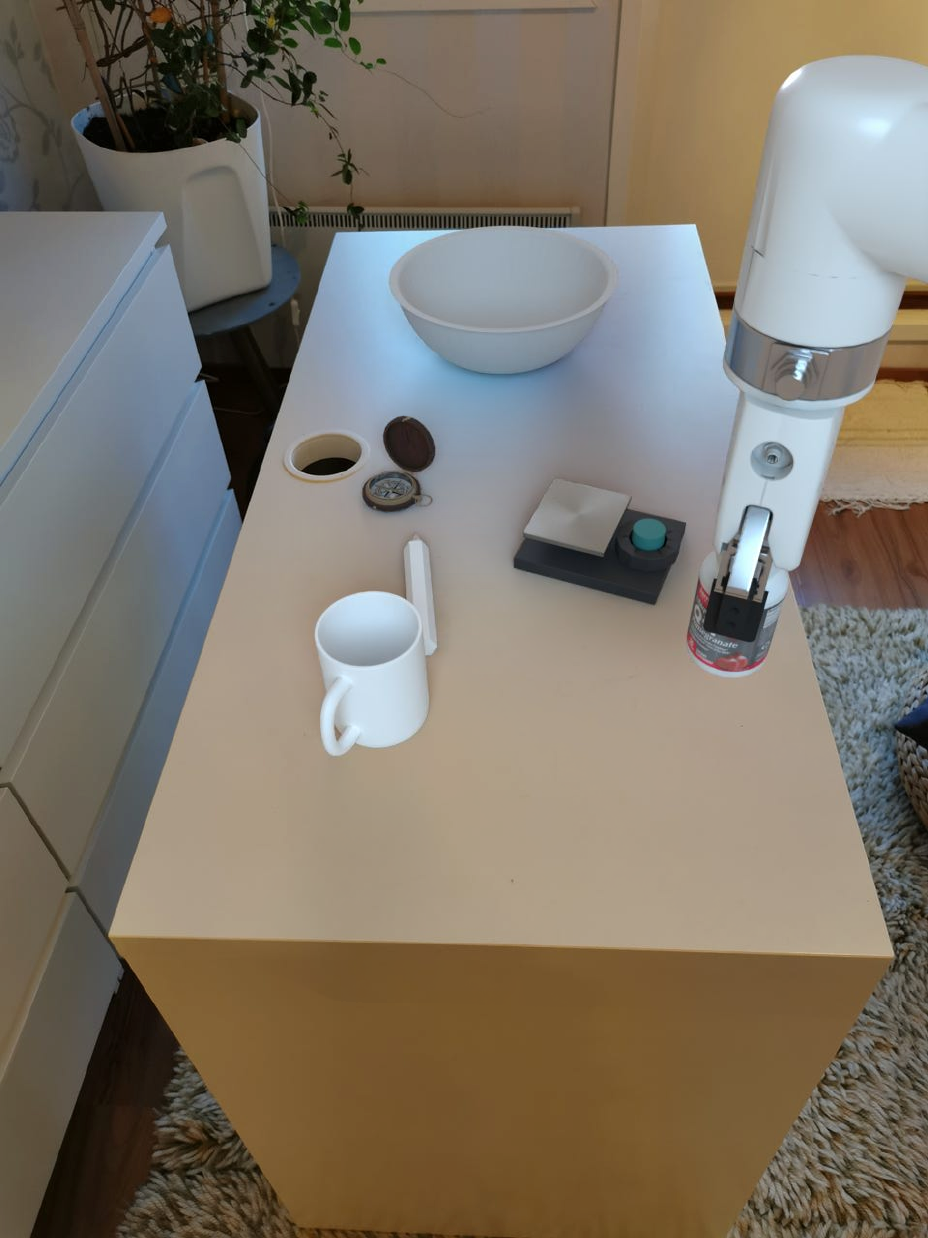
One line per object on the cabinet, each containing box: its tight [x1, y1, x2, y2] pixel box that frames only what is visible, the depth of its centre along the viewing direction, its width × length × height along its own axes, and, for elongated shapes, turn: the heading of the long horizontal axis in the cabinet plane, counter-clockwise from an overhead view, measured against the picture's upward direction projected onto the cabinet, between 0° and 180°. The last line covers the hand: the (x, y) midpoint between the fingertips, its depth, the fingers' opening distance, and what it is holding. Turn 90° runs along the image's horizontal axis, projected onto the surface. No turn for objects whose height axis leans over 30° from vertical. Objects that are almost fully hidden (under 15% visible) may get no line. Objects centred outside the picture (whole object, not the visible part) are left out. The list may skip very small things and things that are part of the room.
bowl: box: [388, 225, 619, 375], centre depth 117 cm, size 27×27×10 cm
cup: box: [314, 590, 430, 757], centre depth 75 cm, size 8×12×10 cm
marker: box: [403, 531, 438, 657], centre depth 89 cm, size 3×2×16 cm
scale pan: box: [522, 477, 633, 557], centre depth 92 cm, size 8×9×1 cm
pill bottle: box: [685, 534, 790, 679], centre depth 60 cm, size 5×5×10 cm
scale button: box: [632, 519, 666, 551], centre depth 90 cm, size 3×3×2 cm
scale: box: [513, 508, 687, 606], centre depth 92 cm, size 14×11×3 cm
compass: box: [361, 415, 436, 513], centre depth 98 cm, size 8×8×7 cm
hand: (738, 598), depth 60 cm, fingers closed on pill bottle, 5 cm apart
